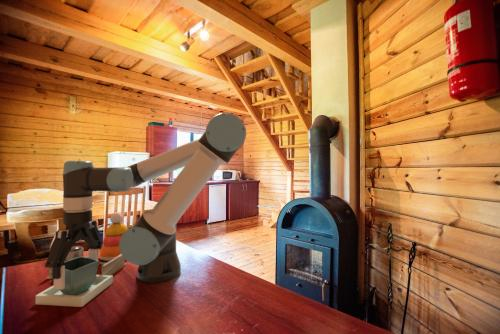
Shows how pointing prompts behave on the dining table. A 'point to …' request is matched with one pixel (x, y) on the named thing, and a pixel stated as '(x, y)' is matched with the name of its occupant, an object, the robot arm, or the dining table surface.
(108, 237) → the stacking toy
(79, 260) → the flower pot
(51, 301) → the tray
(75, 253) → the canister
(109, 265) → the holder
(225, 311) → the dining table surface
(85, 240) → the robot arm
